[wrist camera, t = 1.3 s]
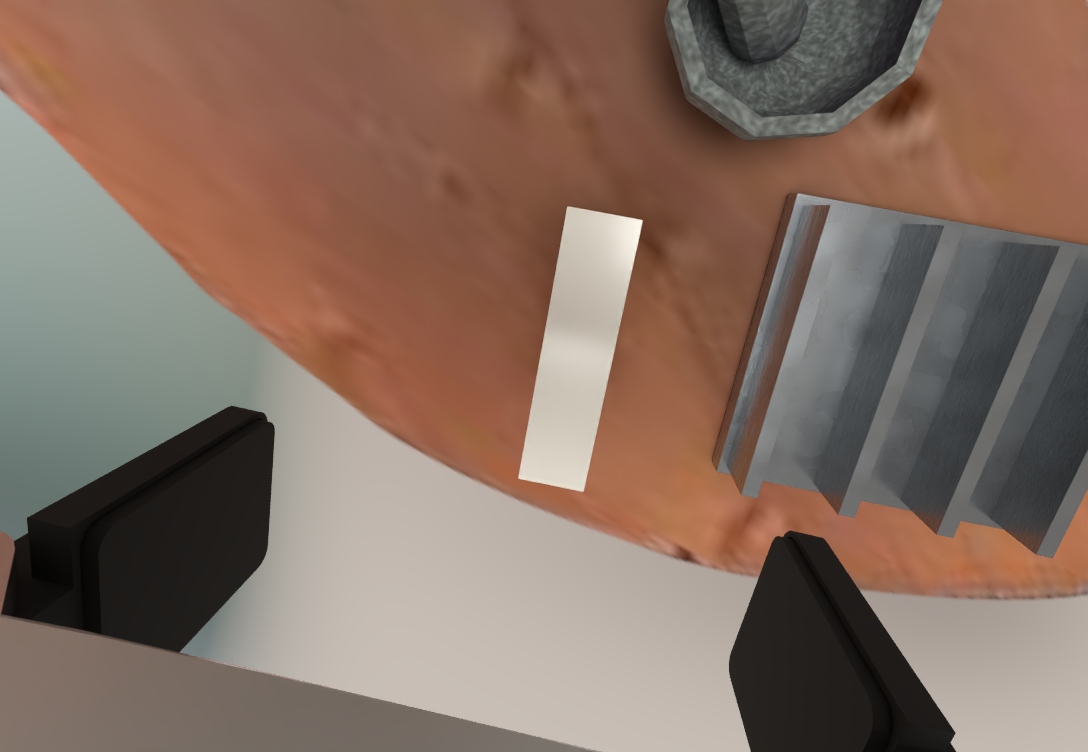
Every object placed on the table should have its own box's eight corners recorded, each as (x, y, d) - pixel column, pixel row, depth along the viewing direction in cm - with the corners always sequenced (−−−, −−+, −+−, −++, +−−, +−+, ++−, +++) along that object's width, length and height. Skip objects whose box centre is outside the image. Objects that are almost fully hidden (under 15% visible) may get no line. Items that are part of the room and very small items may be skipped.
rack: (711, 460, 33) (730, 502, 29) (788, 194, 29) (825, 190, 24) (990, 516, 33) (1056, 568, 28) (1110, 252, 28) (1213, 260, 24)
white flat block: (546, 385, 33) (518, 478, 22) (579, 208, 30) (567, 206, 19) (589, 394, 33) (583, 491, 22) (626, 216, 30) (642, 220, 19)
